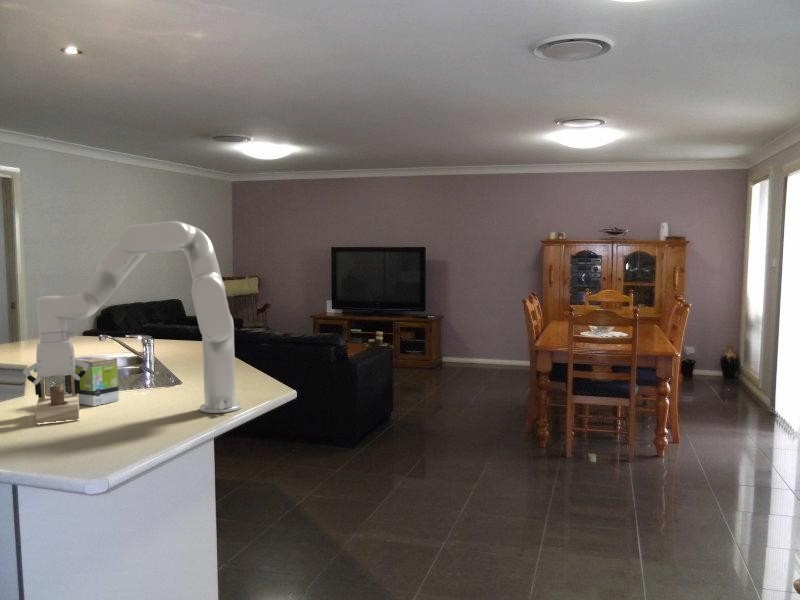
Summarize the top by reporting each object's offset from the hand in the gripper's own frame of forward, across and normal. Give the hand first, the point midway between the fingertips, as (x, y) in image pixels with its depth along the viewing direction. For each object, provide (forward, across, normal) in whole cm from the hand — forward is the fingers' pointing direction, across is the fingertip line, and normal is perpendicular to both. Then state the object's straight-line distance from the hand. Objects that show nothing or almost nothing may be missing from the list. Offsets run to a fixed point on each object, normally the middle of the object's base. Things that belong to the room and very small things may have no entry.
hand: (58, 395), depth 196 cm
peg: (+7, 0, 0) cm, 8 cm away
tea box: (+8, -9, -22) cm, 25 cm away
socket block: (+7, 0, -4) cm, 9 cm away
